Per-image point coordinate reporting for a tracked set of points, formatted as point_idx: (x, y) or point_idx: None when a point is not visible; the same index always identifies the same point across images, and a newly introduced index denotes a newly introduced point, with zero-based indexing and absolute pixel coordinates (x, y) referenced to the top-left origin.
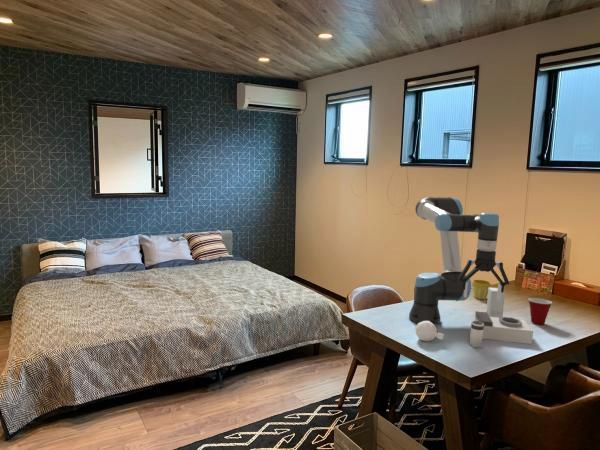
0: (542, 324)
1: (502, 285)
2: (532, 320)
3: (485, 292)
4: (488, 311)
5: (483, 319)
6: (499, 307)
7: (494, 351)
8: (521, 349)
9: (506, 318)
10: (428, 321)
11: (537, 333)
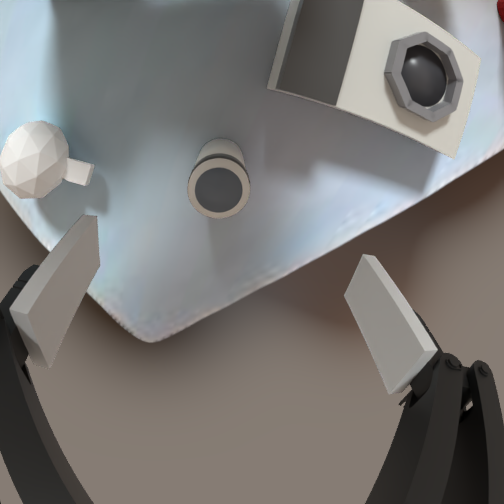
0: None
1: (399, 404)
2: (502, 8)
3: None
4: None
5: (305, 64)
6: None
7: (268, 208)
8: (371, 187)
9: (429, 44)
10: (17, 167)
11: (480, 74)
